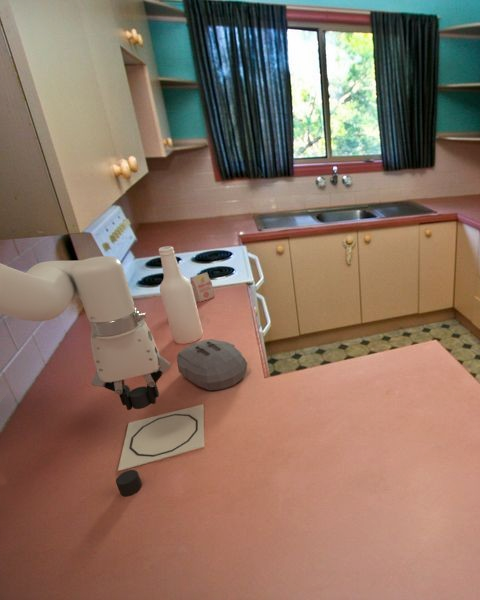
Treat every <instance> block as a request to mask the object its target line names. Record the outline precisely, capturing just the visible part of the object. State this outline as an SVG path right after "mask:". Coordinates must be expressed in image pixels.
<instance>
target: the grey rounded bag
mask: <svg viewBox="0 0 480 600" xmlns="http://www.w3.org/2000/svg"><path fill="white" fill-rule="evenodd" d="M176 363H177V369H178V373H180V374H181V375H182V376H183V377H184V378H185V379H187V380H188V381H190V382H191V383H193V384H194V385H196V386H197V387H200V388H202V389H205V390H207V391H217V390H219V391H220V390H224V389H227V388H230V387H232V386H235V385H237V384H238V383H239V382H240V381H242V380H243V379H244V378H245V376H246V373H247V369H248V362H247V360H246V358H245V357H244V356H243V353H242V352H241V351H240V350H239V349H237V347H235V345H234V344H233V343H231V342H228V341H224V340H217V339H212V338H210V339H204V340H201V341H199V342H194V343H193V344H191V345H189V346H186V347H185V348H183V349H181V350H180V351H179V352H178V353H177V356H176Z"/></svg>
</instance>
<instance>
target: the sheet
mask: <svg viewBox="0 0 480 600" xmlns="http://www.w3.org/2000/svg"><path fill="white" fill-rule="evenodd" d="M205 444H206V443H205V404H203V403H202V404H199V405H194V406H191V407H187V408H183V409H178V410H174V411H170V412H166V413H162V414H159V415H155V416H151V417H147V418H143V419H137V420H134V421H131V422H128V425H127V429H126V433H125V437H124V441H123V446H122V450H121V454H120V460H119V464H118V467H117V472H118V473H119V472H124V471H127V470H131V469H133V468H136V467H140V466H144V465H147V464H151V463H154V462H158V461H161V460H165V459H168V458H172V457H175V456H178V455H182V454H187V453H189V452H193V451H197V450H200V449H203V448H205V447H206V445H205Z"/></svg>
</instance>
